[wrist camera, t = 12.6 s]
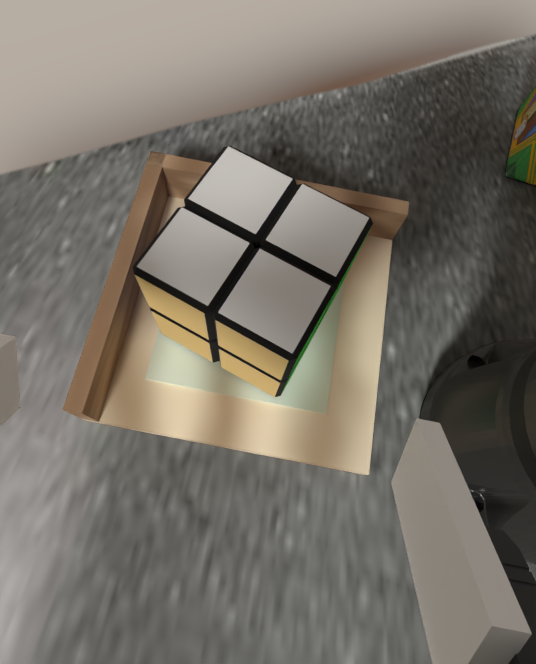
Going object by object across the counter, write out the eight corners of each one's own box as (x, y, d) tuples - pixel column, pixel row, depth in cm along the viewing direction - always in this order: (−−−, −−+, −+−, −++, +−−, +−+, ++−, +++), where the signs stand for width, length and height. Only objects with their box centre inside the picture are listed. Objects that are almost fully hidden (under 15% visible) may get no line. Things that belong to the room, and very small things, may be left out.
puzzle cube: (228, 231, 36) (226, 139, 27) (339, 289, 35) (377, 215, 26) (157, 332, 33) (127, 269, 24) (278, 400, 32) (295, 362, 22)
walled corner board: (390, 233, 38) (409, 201, 34) (365, 475, 32) (385, 472, 27) (159, 187, 38) (150, 151, 34) (85, 420, 32) (62, 409, 27)
